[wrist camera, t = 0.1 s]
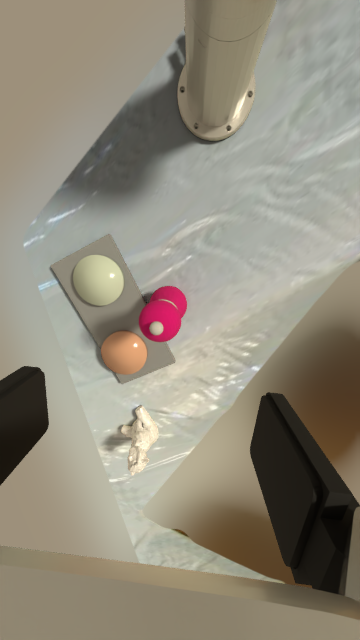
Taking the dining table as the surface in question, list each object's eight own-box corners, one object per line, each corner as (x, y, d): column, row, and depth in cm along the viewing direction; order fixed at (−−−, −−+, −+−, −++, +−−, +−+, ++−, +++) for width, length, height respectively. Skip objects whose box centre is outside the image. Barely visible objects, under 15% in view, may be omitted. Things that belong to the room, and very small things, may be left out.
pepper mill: (155, 318, 47) (131, 359, 27) (151, 285, 45) (121, 304, 25) (188, 315, 46) (187, 355, 27) (185, 282, 44) (181, 298, 25)
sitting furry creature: (140, 402, 53) (126, 442, 41) (168, 420, 54) (162, 463, 42) (121, 427, 55) (102, 471, 44) (148, 443, 56) (137, 491, 45)
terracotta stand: (95, 340, 47) (92, 343, 46) (134, 323, 46) (132, 325, 44) (117, 377, 50) (115, 380, 48) (155, 361, 48) (154, 364, 47)
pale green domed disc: (67, 268, 43) (63, 268, 42) (109, 246, 42) (106, 245, 40) (93, 311, 46) (89, 313, 44) (133, 292, 44) (131, 293, 43)
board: (54, 265, 45) (50, 265, 43) (110, 234, 42) (108, 234, 41) (123, 381, 51) (121, 384, 50) (175, 360, 49) (175, 362, 48)
